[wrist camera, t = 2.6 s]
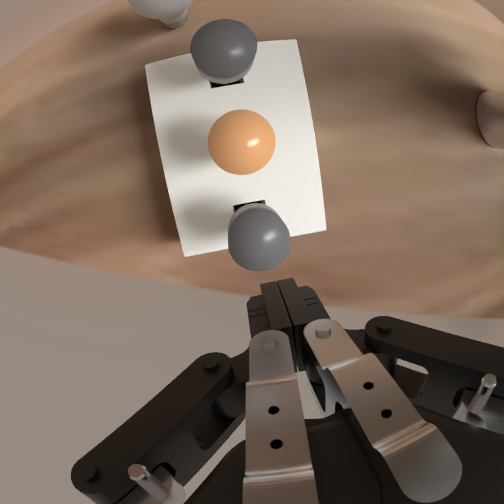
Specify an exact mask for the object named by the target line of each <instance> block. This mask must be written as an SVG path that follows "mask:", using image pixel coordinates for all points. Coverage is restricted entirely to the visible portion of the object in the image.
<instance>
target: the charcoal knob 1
mask: <svg viewBox="0 0 504 504" xmlns="http://www.w3.org/2000/svg"><path fill="white" fill-rule="evenodd" d="M190 49H191V55H192V58H193V60H194V62H195V65H196V67H197V70H198V71H199V73H200V74H201V75H202V76H203V77H204V78H206V79H207V80H209V81H211V82H214V83H220V84H228V83H232V82H235V81H238V80H240V79H241V78H243V77H244V76H245V75H246V74H247V73H248V72H249V70H250V69H251V67H252V64H253V61H254V58H255V55H256V52H257V40H256V37H255V35H254V33H253V32H252V31H251V29H250V28H248V27H247V26H246V25H244V24H243V23H241V22H238V21H235V20H229V19H221V20H215V21H212V22H210V23H207V24H206V25H204V26H202V27H201V28H200V29H199V30H198V31H197V32H196V33H195V35H194V37H193V39H192V41H191V47H190Z"/></svg>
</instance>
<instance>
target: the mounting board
mask: <svg viewBox="0 0 504 504" xmlns="http://www.w3.org/2000/svg"><path fill="white" fill-rule="evenodd" d="M145 69H146V76H147V82H148V89H149V95H150V101H151V107H152V113H153V118H154V124H155V129H156V135H157V140H158V145H159V150H160V155H161V160H162V165H163V169H164V174H165V178H166V183H167V187H168V192H169V196H170V200H171V205H172V209H173V213H174V217H175V221H176V225H177V229H178V233H179V237H180V241H181V245H182V248H183V252H184V256H185V257H187V256H192V255H197V254H202V253H207V252H213V251H218V250H223V249H228V225H229V221H230V219H231V217H232V215H233V214H234V213H235V210H234V205H238V204H243V203H249V202H254V201H260V200H261V204H265V205H267V206H269V207H271V208H273V209H274V210H275V211H276V212H277V213H278V215H279V216H280V217H281V219H282V220H283V222H284V223H285V224H286V226H287V228H288V230H289V233H290V237H292V236H297V235H302V234H308V233H313V232H319V231H324V230H326V222H325V212H324V202H323V193H322V185H321V177H320V169H319V161H318V154H317V147H316V141H315V134H314V128H313V122H312V116H311V110H310V104H309V99H308V94H307V88H306V83H305V78H304V73H303V68H302V64H301V59H300V55H299V50H298V46H297V41H296V39H292V40H275V41H264V42H257V52H256V55H255V58H254V61H253V64H252V67H251V69H250V70H249V72H248V73H247V74H246V75H245V76H244V77H243V78H241V79H240V80H239V81H240V84H234V85H228V86H222V87H217V88H211V82H210V81H209V80H207V79H206V78H204V77H203V76H202V75H201V74H200V73H199V71H198V70H197V67H196V65H195V62H194V60H193V58H192V55H191V53H189V54H184V55H180V56H176V57H172V58H168V59H164V60H161V61H157V62H154V63H150V64H147V65H145ZM240 109H243V110H250V111H254V112H256V113H258V114H260V115H261V116H263V117H264V118H265V119H266V120H267V121H268V122H269V123H270V125H271V127H272V128H273V131H274V134H275V140H276V143H275V150H274V153H273V156H272V158H271V159H270V161H269V162H268V163H267V164H266V165H265V166H264V167H263V168H262V169H260V170H259V171H257V172H254V173H252V174H248V175H235V174H231V173H228V172H226V171H224V170H223V169H221V168H220V167H219V166H218V165H217V164H216V163H215V162H214V161H213V159H212V158H211V156H210V153H209V150H208V135H209V132H210V129H211V127H212V126H213V124H214V123H215V121H216V120H217V119H218V118H219V117H221V116H222V115H224V114H225V113H227V112H230V111H233V110H240Z"/></svg>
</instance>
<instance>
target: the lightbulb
mask: <svg viewBox="0 0 504 504" xmlns="http://www.w3.org/2000/svg"><path fill="white" fill-rule="evenodd" d="M193 1H194V0H129V2H130V5H131V7H132V8H133V9H134V11H135V12H137V13H138V14H139V15H141V16H143V17H146V18H150V19H159V20H160V21H161V22H163V23H164V24H165V25H166V26H167V27H169V28H178V27H180V26H182V25H183V24H184V23H185V22H186V20H187V8H188V7H189V6H190V5H191V4H192V2H193Z"/></svg>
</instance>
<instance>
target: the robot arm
mask: <svg viewBox="0 0 504 504" xmlns="http://www.w3.org/2000/svg"><path fill="white" fill-rule="evenodd" d="M476 112H477V121H478V125H479V129H480V131H481V134H482V136H483V138H484V139H485V141H486V142H487V143H488V144H489V145H490V146H492V147H494V148H500V149H504V91H486V92H483V93H482V94H481V95H480V96H479V99H478V102H477V110H476ZM260 287H261V293H262V295H259V296H253V297H250V299H249V301H248V302H247V309H248V317H249V325H250V332H251V338H252V339H251V340H250V343H249V347H248V349H247V350H246V351H244V352H243V353H241V354H240V355H237V356H235V357H233V358H229V357H228V356H227V355H226V354H223V353H218V352H213V353H208V354H205V355H202V356H200V357H199V358H198V359H196V360H195V361H194V362H193V363H192V364H191V365H190V366H188V367H187V368H186V369H185V370H184V371H183V372H182V373H181V374H180V375H179V376H177V377H176V378H175V379H174V380H173V381H172V382H171V383H170V384H168V385H167V386H166V387H165V388H164V389H163V390H162V391H160V392H159V393H158V394H157V395H156V396H155V397H154V398H153V399H151V400H150V401H149V402H148V403H147V404H146V405H145V406H143V407H142V408H141V409H140V410H139V411H137V412H136V413H135V414H134V415H133V416H132V417H131V418H129V419H128V420H127V421H126V422H125V423H124V424H122V425H121V426H120V427H119V428H117V429H116V430H115V431H114V432H113V433H111V434H110V435H109V436H108V437H107V438H105V439H104V440H103V441H102V442H101V443H99V444H98V445H97V446H96V447H94V448H93V449H92V450H91V451H89V452H88V453H87V454H86V455H85V456H83V457H82V458H81V459H79V460H78V461H77V462H76V463H75V464H74V466H73V468H72V471H71V480H72V483H73V485H74V486H75V488H76V489H77V490H79V491H80V492H81V493H83V494H84V495H86V496H87V497H89V498H90V499H91V500H92V501H93V502H94V503H96V504H183V503H184V501H185V495H186V494H185V490H184V488H183V487H184V486H185V485H186V484H187V483H188V482H189V481H190V480H191V478H192V477H193V476H194V475H195V474H196V473H197V472H198V471H199V470H200V469H201V468H202V467H203V466H204V465H205V463H207V461H208V460H209V459H210V458H211V457H212V456H213V455H214V454H215V453H216V452H217V450H218V449H219V448H220V447H221V446H222V445H223V444H224V442H225V441H226V440H227V439H228V438H229V437H230V435H231V434H232V433H233V432H234V431H235V430H236V428H237V427H238V426H239V425H240V424H241V422H242V421H243V420H244V419H245V417H246V439H245V440H244V441H242V442H240V443H239V444H237V445H236V446H235V447H233V448H232V449H231V450H230V451H229V452H228V453H227V454H226V455H225V456H224V457H223V458H222V460H221V461H220V462H219V463H218V465H217V466H216V467H215V468H214V469H213V471H212V472H211V473H210V474H209V475H208V477H207V478H206V479H205V480H204V481H203V482H202V484H201V485H200V486H199V487H198V488H197V489H196V490H195V492H194V493H193V494H192V495H191V496H190V497H189V498H188V500H186V502H185V503H184V504H504V348H503V347H499V346H495V345H491V344H487V343H483V342H480V341H476V340H472V339H469V338H465V337H461V336H457V335H454V334H450V333H446V332H443V331H439V330H436V329H432V328H428V327H425V326H421V325H418V324H414V323H411V322H407V321H403V320H400V319H396V318H393V317H389V316H379V317H375V318H372V319H371V320H369V321H368V322H367V323H366V326H365V329H360V330H347V329H343V327H342V326H341V325H340V323H338V322H337V321H335V320H331V319H330V317H329V315H328V313H327V312H326V310H325V308H324V306H323V305H322V303H321V301H320V299H319V298H318V296H317V294H316V292H315V291H314V290H313V289H311V288H310V287H308V286H303V287H298V286H297V284H296V282H295V280H294V278H288V279H283V280H278V281H277V282H276V281H273V282H268V283H263V284H260ZM398 358H399V359H402V360H404V361H407V362H410V363H414V364H416V365H420V366H422V367H424V368H425V369H426V370H427V371H428V374H424V373H420V372H417V371H414V370H412V369H409V368H406V367H403V366H400V365H397V359H398ZM297 367H298V370H299V371H305V370H306V373H307V378H308V386H309V388H310V391H311V393H312V395H313V397H314V399H315V402H316V404H317V406H318V409H319V410H320V413H321V415H322V418H321V419H304V416H303V410H302V404H301V399H300V392H299V388H298V382H297V376H296V375H295V373H296V372H297Z"/></svg>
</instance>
